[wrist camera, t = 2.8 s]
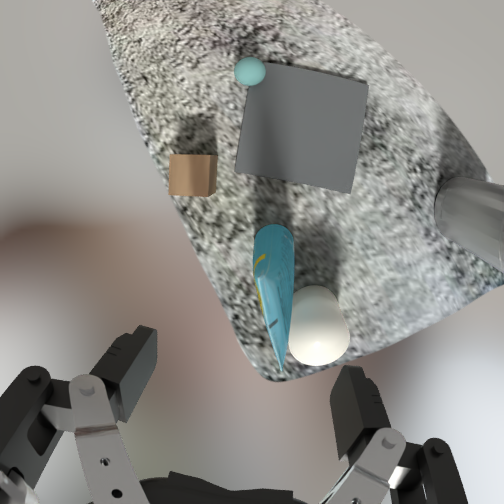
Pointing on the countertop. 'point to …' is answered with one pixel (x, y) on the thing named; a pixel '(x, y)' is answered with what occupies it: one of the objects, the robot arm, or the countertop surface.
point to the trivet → (303, 127)
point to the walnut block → (192, 175)
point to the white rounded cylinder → (317, 326)
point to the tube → (275, 283)
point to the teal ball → (249, 71)
